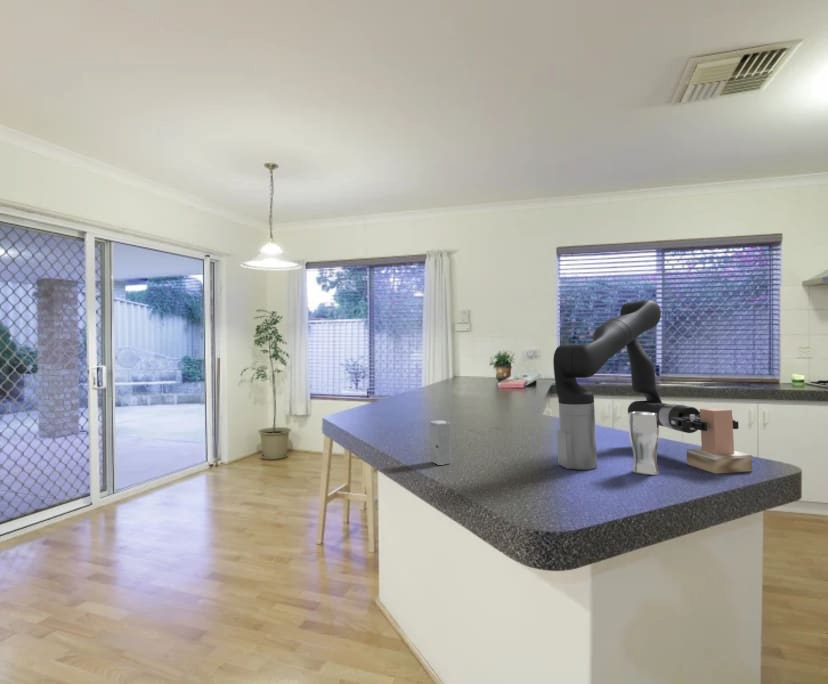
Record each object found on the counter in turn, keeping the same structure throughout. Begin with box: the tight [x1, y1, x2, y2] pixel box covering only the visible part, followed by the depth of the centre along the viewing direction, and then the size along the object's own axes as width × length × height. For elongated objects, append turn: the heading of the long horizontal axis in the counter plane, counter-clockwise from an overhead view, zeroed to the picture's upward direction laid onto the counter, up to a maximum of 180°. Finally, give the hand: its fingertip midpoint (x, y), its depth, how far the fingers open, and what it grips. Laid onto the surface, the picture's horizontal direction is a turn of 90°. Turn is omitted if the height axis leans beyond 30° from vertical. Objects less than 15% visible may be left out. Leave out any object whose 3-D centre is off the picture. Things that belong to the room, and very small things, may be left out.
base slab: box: [686, 447, 753, 474], centre depth 121 cm, size 10×10×4 cm
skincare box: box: [429, 419, 452, 464], centre depth 137 cm, size 6×4×12 cm
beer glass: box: [628, 412, 660, 476], centre depth 119 cm, size 7×7×15 cm
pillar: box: [699, 407, 735, 455], centre depth 121 cm, size 5×5×11 cm
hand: (721, 425), depth 119 cm, fingers open, 8 cm apart
